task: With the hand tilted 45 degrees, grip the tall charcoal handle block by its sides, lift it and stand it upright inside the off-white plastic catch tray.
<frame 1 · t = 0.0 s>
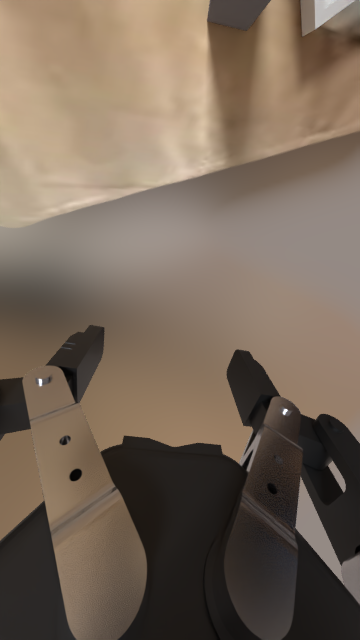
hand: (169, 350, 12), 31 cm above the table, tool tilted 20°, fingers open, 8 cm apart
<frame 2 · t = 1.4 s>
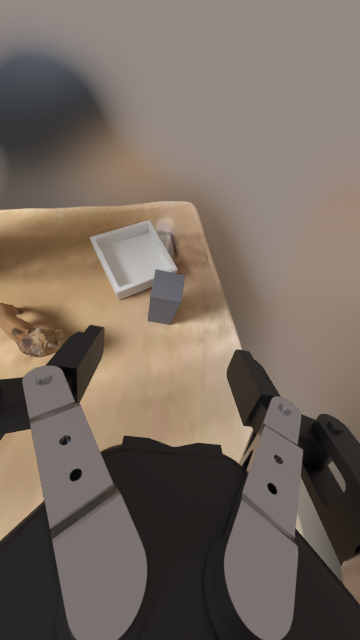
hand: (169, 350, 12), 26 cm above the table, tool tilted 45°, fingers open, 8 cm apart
handle block: (160, 312, 40), on the table
catch tray: (134, 263, 42), on the table
lion figurine: (38, 334, 35), on the table
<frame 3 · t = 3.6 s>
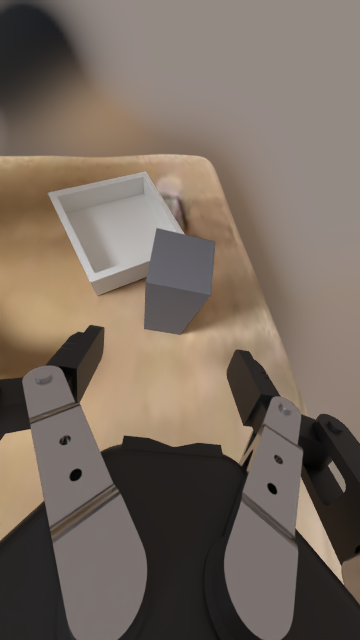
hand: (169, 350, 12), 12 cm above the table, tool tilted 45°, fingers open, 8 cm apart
handle block: (164, 315, 25), on the table
catch tray: (124, 239, 27), on the table
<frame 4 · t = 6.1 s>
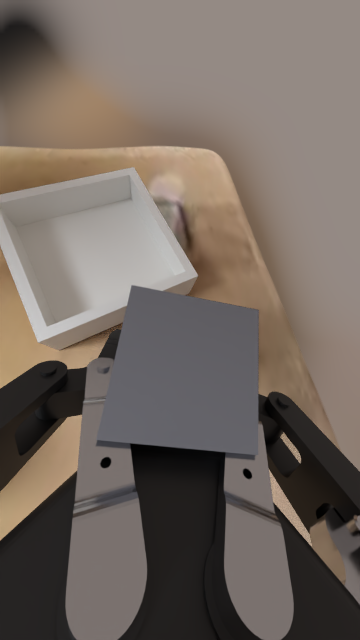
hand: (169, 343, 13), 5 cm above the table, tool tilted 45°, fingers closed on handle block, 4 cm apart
handle block: (158, 376, 17), on the table, touching gripper
catch tray: (102, 263, 19), on the table
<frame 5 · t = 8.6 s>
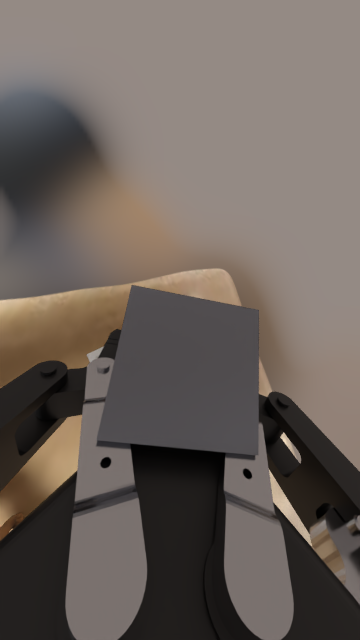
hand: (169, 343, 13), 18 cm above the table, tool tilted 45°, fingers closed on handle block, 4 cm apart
handle block: (159, 376, 17), point 12 cm above the table, touching gripper
when the fingers open (8 cm above the table, at t = 11.0 s): handle block drops 1 cm, resting on catch tray.
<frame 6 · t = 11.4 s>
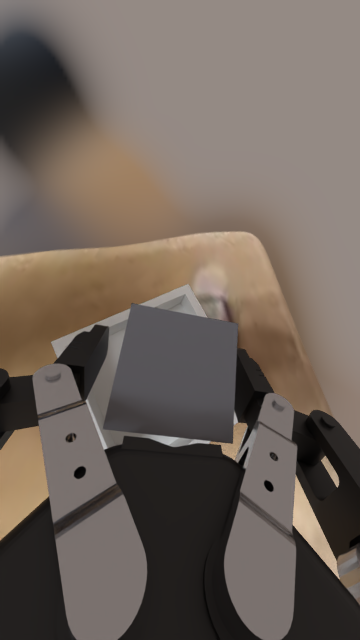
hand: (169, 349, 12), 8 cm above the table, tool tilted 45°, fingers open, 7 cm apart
handle block: (156, 377, 19), point 1 cm above the table, touching catch tray
catch tray: (156, 376, 20), on the table
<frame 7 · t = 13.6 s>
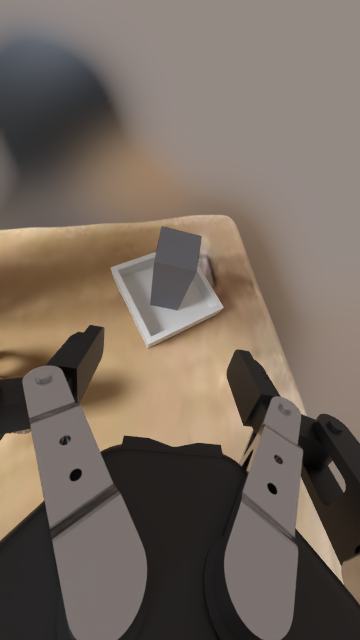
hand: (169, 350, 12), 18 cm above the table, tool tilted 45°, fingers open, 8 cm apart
handle block: (166, 295, 32), point 1 cm above the table, touching catch tray
catch tray: (165, 297, 33), on the table
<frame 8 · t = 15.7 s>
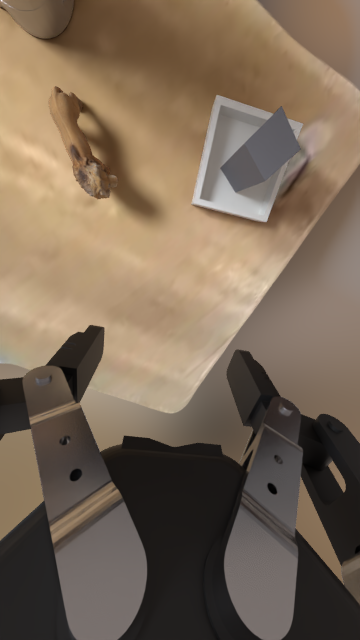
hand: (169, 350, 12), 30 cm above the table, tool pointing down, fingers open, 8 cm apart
handle block: (239, 169, 32), point 1 cm above the table, touching catch tray
catch tray: (237, 170, 33), on the table
lion figurine: (94, 154, 31), on the table
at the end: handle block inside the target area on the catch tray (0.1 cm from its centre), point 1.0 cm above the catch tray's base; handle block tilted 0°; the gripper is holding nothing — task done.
